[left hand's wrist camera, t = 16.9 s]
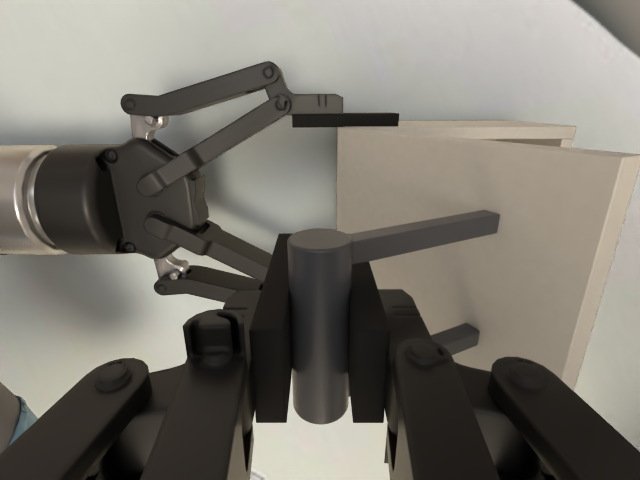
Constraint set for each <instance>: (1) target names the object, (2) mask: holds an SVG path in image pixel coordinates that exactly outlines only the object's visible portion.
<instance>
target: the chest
mask: <svg viewBox="0 0 640 480" xmlns="http://www.w3.org/2000/svg"><path fill="white" fill-rule="evenodd" d="M338 128H360V129H371V130H382V131H393V132H403V133H414V134H425V135H436V136H446V137H457V138H468V139H479V140H490V141H500V142H511V143H522V144H533V145H543V146H554V147H565V148H572V145H573V138H574V136H575V131H576V126H568V125H556V124H544V123H531V122H519V121H507V120H460V121H399V123H398V126H350V127H338ZM337 155H338V135H337ZM336 230H337V226H336Z"/></svg>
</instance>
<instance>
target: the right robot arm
mask: <svg viewBox="0 0 640 480" xmlns="http://www.w3.org/2000/svg"><path fill="white" fill-rule="evenodd" d="M263 89H266V92H267V95H268V97H269V100H268V101H266V102H265V103H263V104H261V105H260V106H258V107H257V108H255V109H253V110H252V111H250V112H249V113H247V114H245V115H244V116H242V117H241V118H239V119H237V120H236V121H234V122H233V123H231V124H229V125H228V126H226V127H225V128H223V129H221V130H220V131H218V132H217V133H215V134H213V135H212V136H210V137H209V138H207V139H205V140H204V141H202V142H201V143H199V144H197V145H196V146H194V147H193V148H191V149H189V150H187V151H185V152H184V153H182V154H180V155H179V154H177V153H176V152H174V151H173V150H171V149H170V148H168V147H167V146H165V145H164V144H162V143H161V142H159V141H158V140H156V139H154V133H155V131H156V130H158V129H160V128H164V127H166V126H167V125H168V122H169V117H168V116H174V115H181V114H185V113H189V112H192V111H195V110H199V109H202V108H205V107H208V106H211V105H215V104H218V103H221V102H224V101H227V100H231V99H234V98H237V97H240V96H243V95H247V94H250V93H253V92H256V91H260V90H263ZM121 107H122V109H123V110H124V112H126V113H127V114H130V117H131V127H132V137H133V138H132V139H130V140H128V141H127V142H125V143H124V144H117V145H63V146H59V147H57V146H54V145H0V254H1V255H7V254H33V255H60V254H66V253H71V254H126V253H139V254H142V255H145V256H147V257H149V258H152V259H154V261H155V265H156V269H157V273H158V277H159V279H158V281H157V282H156V283H155V284H154V289H155V291H156V292H157V293H158V294H160V295H175V294H191V295H195V296H199V297H204V298H208V299H212V300H217V301H221V302H225V303H226V301H227V298H229V297H230V296H231V295H232V294H234V293H235V292H236V291H238V290H262V287H263V284H264V281H265V277H266V274H267V271H268V268H269V264H270V261H271V258H272V255H271V254H269V253H267V252H265V251H263V250H261V249H259V248H257V247H255V246H253V245H251V244H249V243H247V242H245V241H243V240H241V239H239V238H237V237H235V236H233V235H231V234H229V233H227V232H225V231H223V230H222V229H221V228H220V226H218V225H217V224H215V223H213V222H211V221H209V220H207V218H208V217H209V214H208V207H207V204H206V201H205V199H204V190H205V180H204V175H201V173H200V171H199V170H198V169H199V168H201V167H202V166H204V165H205V164H207V163H209V162H210V161H212V160H213V159H215V158H217V157H218V156H220V155H221V154H223V153H225V152H226V151H228V150H230V149H231V148H233V147H235V146H236V145H238V144H239V143H241V142H243V141H244V140H246V139H248V138H249V137H251V136H253V135H254V134H256V133H257V132H259V131H261V130H262V129H264V128H266V127H267V126H269V125H271V124H272V123H274V122H275V121H277V120H279V119H280V118H282V117H284V116H285V115H292V123H293V127H350V126H398V123H399V114H397V113H343V97H341V96H339V95H336V94H293V93H292V92H290V91H289V89H288V88H287V86H286V83H285V80H284V78H283V75H282V71H281V69H280V68H279V67H278V66H276V65H275V64H274V63H272V62H270V61H268V62H263V63H260V64H257V65H254V66H250V67H247V68H244V69H241V70H238V71H235V72H232V73H229V74H225V75H222V76H219V77H216V78H213V79H210V80H207V81H203V82H200V83H197V84H194V85H191V86H188V87H185V88H181V89H178V90H175V91H172V92H169V93H166V94H163V95H159V96H154V95H139V94H126V95H124V96H123V97H122V99H121ZM179 247H183V248H185V249H187V250H189V251H191V252H193V253H195V254H197V255H207V256H209V257H211V258H213V259H216V260H218V261H220V262H222V263H224V264H226V265H228V266H230V267H232V268H234V269H236V270H238V271H240V272H243V273H245V274H247V275H249V276H251V277H253V278H249V277H245V276H241V275H237V274H233V273H229V272H224V271H220V270H216V269H212V268H208V267H203V266H195V265H189V263H188V262H187V261H186V260H178V259H176V258H175V257H174V256H173V255H172V253H173V252H174V251H175V250H177V249H178V248H179ZM254 278H255V279H254ZM37 420H38V418H37V417H36V416H35V415H34V413H33V412H32V411H31V410H30V409H29V408H28V407H27V405H26V402H25V400H24V399H23V398H21V397H19V396H16V395H14V394H13V393H12V392H11V391H9V390H8V389H7V388H6V387H5V386H4V385H3V384H2V383H1V382H0V454H1V453H2V452H3V451H4V450H5V449H7V448H8V447H9V446H10V445H11V444H12V443H13V442H14V441H15V440H16V439H17V438H18V437H20V436H21V435H22V434H23V433H24V432H25V431H26V430H27V429H28V428H29V427H30V426H31V425H33V424H34V423H35V422H36V421H37Z"/></svg>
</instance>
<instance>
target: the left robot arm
mask: <svg viewBox="0 0 640 480" xmlns="http://www.w3.org/2000/svg"><path fill="white" fill-rule="evenodd" d="M291 235H292V234H279V236H278V239H277V242H276V245H275V248H274V252H273V255H272V258H271V261H270V264H269V268H268V271H267V274H266V277H265V281H264V284H263V287H262V290H238V291H236V292H235V293H234V294H232V295H231V296H230V297H229V298H227V301H226V303H225V305H224V307H223V309H216V310H209V311H205V312H202V313H199V314H197V315H195V316H193V317H192V318H190V319H189V320H187V322H186V323H185V324H184V325H183V331H184V338H185V344H186V351H187V360H186V363H185V364H183V365H180V366H177V367H174V368H170V369H166V370H161V371H156V372H152V373H149V370H148V366H147V365H146V364H145V363H144V362H143V361H142V360H138V359H135V358H124V359H118V360H114V361H110V362H108V363H105V364H103V365H101V366H99V367H97V368H95V369H94V370H92V371H91V372H90V373H88V374H87V375H86V376H85V377H83V378H82V379H81V380H80V381H79V382H78V383H77V384H76V385H75V386H74V387H73V388H72V389H70V390H69V391H68V392H67V393H66V394H65V395H64V396H63V397H62V398H61V399H60V400H59V401H57V402H56V403H55V404H54V405H53V406H52V407H51V408H50V409H49V410H48V411H47V412H46V413H44V414H43V415H42V416H41V417H40V418H39V419H38V420H37V421H36V422H35V423H34V424H33V425H31V426H30V427H29V428H28V429H27V430H26V431H25V432H24V433H23V434H22V435H21V436H20V437H18V438H17V439H16V440H15V441H14V442H13V443H12V444H11V445H10V446H9V447H8V448H7V449H5V450H4V451H3V452H2V453H1V454H0V480H250V473H251V463H252V452H253V442H254V438H253V426H252V422H253V417H254V412H256V423H286V422H287V412H288V402H289V393H290V383H291V373H292V350H291V322H290V293H289V275H288V249H287V241H288V238H289V237H290V236H291ZM348 377H349V387H350V396H351V406H352V415H353V423H383V421H384V408H385V412H386V417H387V422H388V426H387V438H386V449H385V461H384V463H389V472H390V480H640V452H639V451H638V450H637V449H636V448H635V447H634V446H633V445H632V444H631V443H629V442H628V441H627V440H626V439H625V438H624V437H623V436H622V435H621V434H620V433H619V432H617V431H616V430H615V429H614V428H613V427H612V426H611V425H610V424H609V423H608V422H607V421H605V420H604V419H603V418H602V417H601V416H600V415H599V414H598V413H597V412H596V411H594V410H593V409H592V408H591V407H590V406H589V405H588V404H587V403H586V402H585V401H584V400H582V399H581V398H580V397H579V396H578V395H577V394H576V393H575V392H574V391H573V390H572V389H570V388H569V387H568V386H567V385H566V384H565V383H564V382H563V381H562V380H561V379H560V378H558V377H557V376H556V375H555V374H554V373H553V372H551V371H550V370H549V369H547V368H546V367H544V366H543V365H541V364H538V363H536V362H534V361H532V360H528V359H524V358H520V357H503V358H500V359H497V360H496V361H495V362H494V363H493V364H492V368H491V372H490V371H486V370H481V369H477V368H472V367H468V366H464V365H461V364H458V363H456V362H454V359H453V357H452V355H451V354H450V353H449V351H448V350H447V349H446V348H444V347H443V346H442V345H440V344H438V343H436V342H433V340H432V338H431V336H430V333H429V331H428V329H427V327H426V325H425V323H424V321H423V319H422V317H421V316H420V312H419V310H418V308H417V306H416V304H415V302H414V300H413V298H412V297H411V296H410V295H409V294H408V293H406V292H405V291H404V290H402V289H378V288H377V285H376V282H375V279H374V275H373V272H372V269H371V266H370V263H369V262H365V263H360V264H356V265H352V285H351V290H350V322H349V354H348Z"/></svg>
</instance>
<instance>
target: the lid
mask: <svg viewBox="0 0 640 480" xmlns="http://www.w3.org/2000/svg"><path fill="white" fill-rule="evenodd" d="M639 168H640V154H630V153H619V152H608V151H597V150H587V149H576V148H565V147H554V146H543V145H533V144H522V143H511V142H500V141H490V140H479V139H468V138H457V137H446V136H436V135H425V134H414V133H403V132H393V131H382V130H371V129H360V128H338V155H337V230H332V229H309V230H303V231H299V232H296V233H294V234H292V235H291V236H290V237H289V238H288V241H287V249H288V275H289V293H290V322H291V350H292V379H293V404H294V408H295V411H296V412H297V414H298V415H299V416H300V417H301V418H302V419H304V420H305V421H307V422H310V423H313V424H328V423H332V422H334V421H336V420H338V419H339V418H341V417H342V416H343V415H344V413H345V412H346V410H347V407H348V397H349V396H350V387H349V377H348V354H349V322H350V290H351V285H352V265H356V264H360V263H365V262H369V263H370V266H371V269H372V272H373V275H374V279H375V282H376V285H377V288H378V289H402V290H404V291H405V292H406V293H408V294H409V295H410V296H411V297H412V298H413V300H414V302H415V304H416V306H417V308H418V310H419V312H420V316H421V317H422V319H423V321H424V323H425V325H426V327H427V329H428V331H429V333H430V336H431V338H432V340H433V342H436V343H438V344H440V345H442V346H443V347H444V348H446V349H447V350H448V351H449V353H450V354H451V355H452V357H453V359H454V362H456V363H458V364H461V365H464V366H468V367H472V368H477V369H481V370H486V371H490V372H491V368H492V364H493V363H494V362H495V361H496V360H497V359H500V358H503V357H520V358H524V359H528V360H532V361H534V362H536V363H538V364H541V365H543V366H544V367H546V368H547V369H549V370H550V371H551V372H553V373H554V374H555V375H556V376H557V377H558V378H560V379H561V380H562V381H563V382H564V383H565V384H566V385H567V386H568V387H569V388H570V389H572V390H573V391H574V389H575V385H576V382H577V379H578V375H579V372H580V368H581V365H582V362H583V358H584V355H585V351H586V348H587V345H588V341H589V338H590V334H591V331H592V328H593V324H594V321H595V318H596V314H597V311H598V307H599V304H600V301H601V297H602V294H603V290H604V287H605V284H606V280H607V277H608V273H609V270H610V267H611V263H612V260H613V257H614V253H615V250H616V246H617V243H618V240H619V236H620V233H621V229H622V226H623V223H624V219H625V216H626V212H627V209H628V206H629V202H630V199H631V196H632V192H633V189H634V185H635V182H636V179H637V175H638V172H639Z"/></svg>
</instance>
